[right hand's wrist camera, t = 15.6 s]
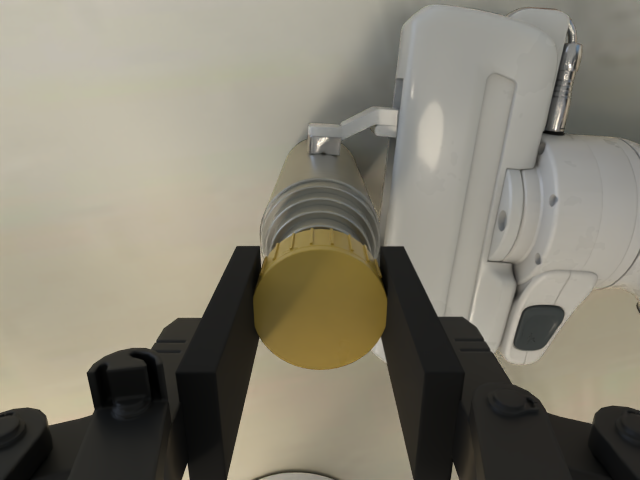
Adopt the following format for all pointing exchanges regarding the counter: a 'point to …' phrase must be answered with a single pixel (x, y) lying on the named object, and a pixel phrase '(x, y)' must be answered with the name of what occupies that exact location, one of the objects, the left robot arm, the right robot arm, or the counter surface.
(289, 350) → the cap
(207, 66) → the counter surface
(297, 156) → the bottle
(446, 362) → the right robot arm
